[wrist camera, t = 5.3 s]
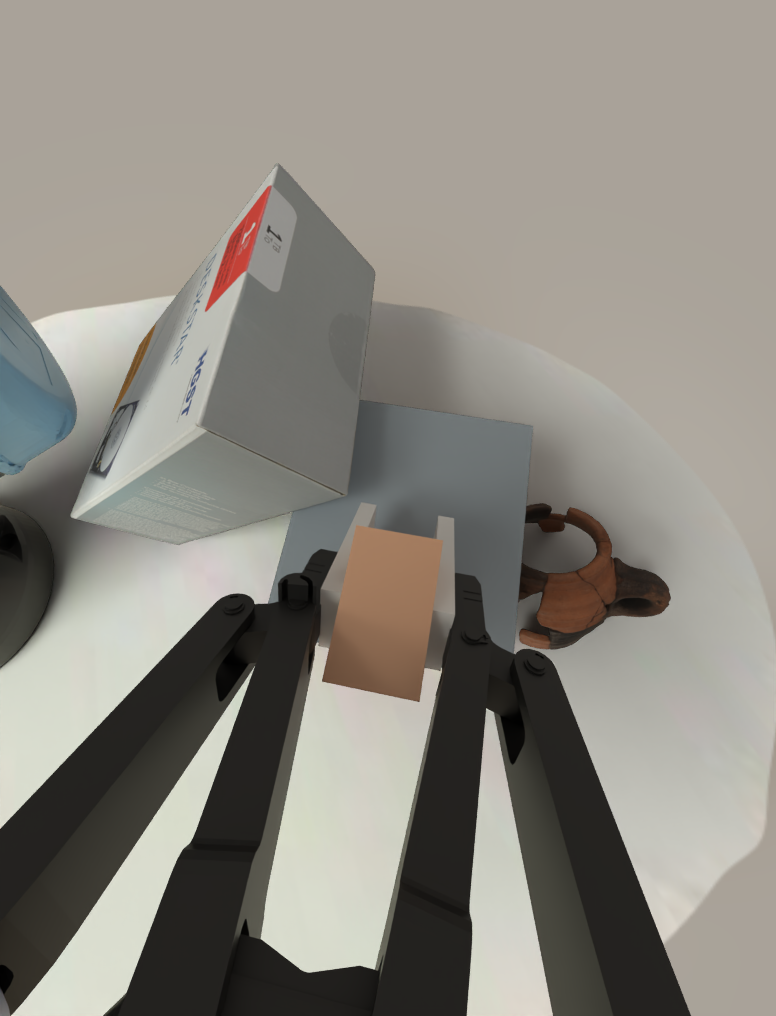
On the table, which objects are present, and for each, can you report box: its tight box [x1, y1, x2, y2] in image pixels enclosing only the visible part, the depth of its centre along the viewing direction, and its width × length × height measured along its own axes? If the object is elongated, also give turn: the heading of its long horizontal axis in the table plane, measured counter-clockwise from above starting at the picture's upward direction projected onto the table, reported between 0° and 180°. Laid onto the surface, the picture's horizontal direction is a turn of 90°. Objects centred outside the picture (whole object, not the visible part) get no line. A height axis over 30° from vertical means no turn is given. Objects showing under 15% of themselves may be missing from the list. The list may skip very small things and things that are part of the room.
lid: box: [268, 400, 533, 702], centre depth 18 cm, size 13×14×8 cm
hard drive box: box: [70, 163, 375, 545], centre depth 25 cm, size 16×8×20 cm
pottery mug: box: [518, 503, 671, 649], centre depth 28 cm, size 12×10×8 cm
